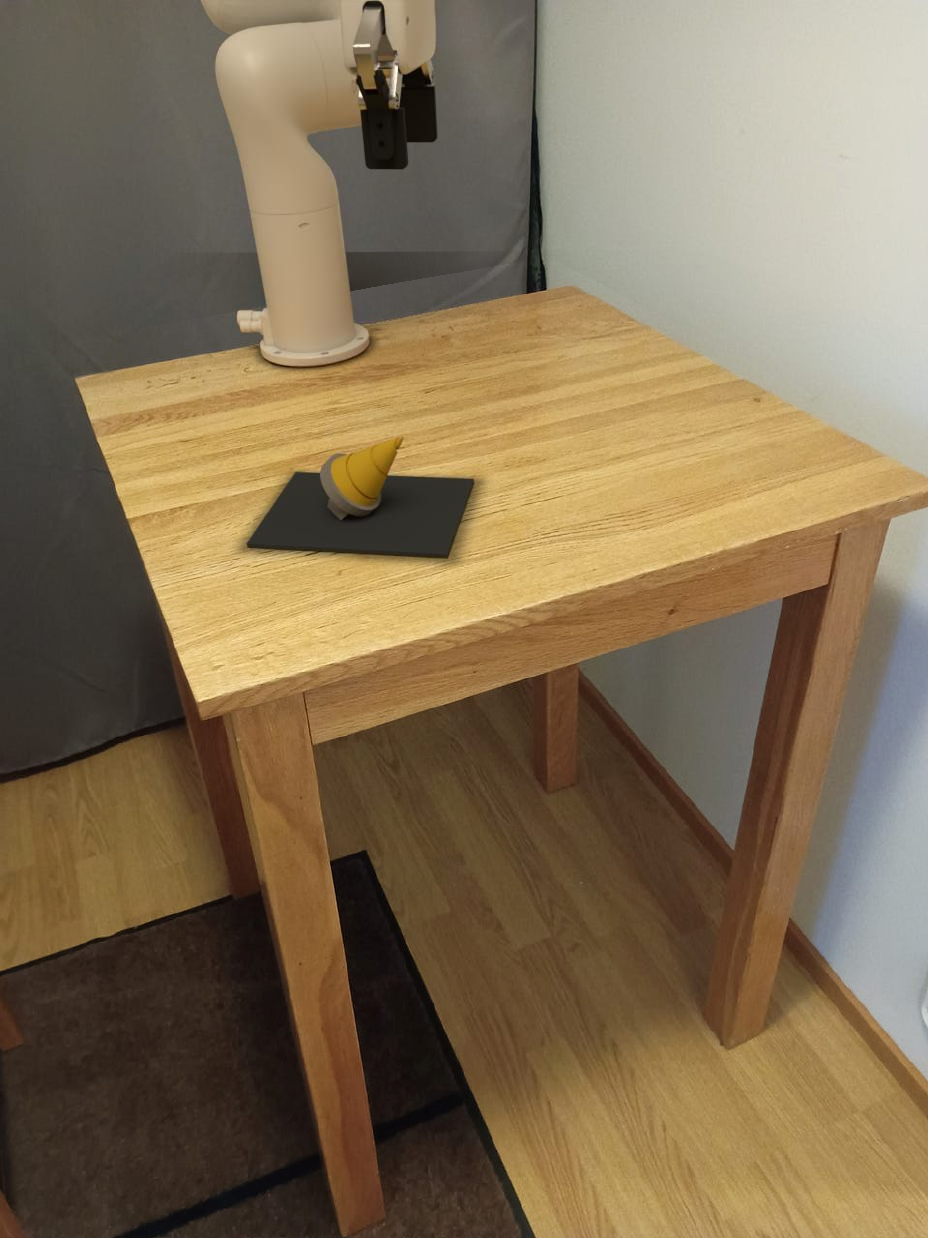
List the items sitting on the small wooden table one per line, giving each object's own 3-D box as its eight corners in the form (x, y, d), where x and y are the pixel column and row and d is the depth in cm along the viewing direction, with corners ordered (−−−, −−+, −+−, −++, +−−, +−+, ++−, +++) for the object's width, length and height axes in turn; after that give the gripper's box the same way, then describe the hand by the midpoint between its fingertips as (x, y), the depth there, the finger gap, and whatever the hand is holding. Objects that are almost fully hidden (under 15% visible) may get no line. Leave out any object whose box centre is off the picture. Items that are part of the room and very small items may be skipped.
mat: (247, 547, 72) (246, 543, 72) (296, 475, 82) (295, 471, 82) (447, 558, 70) (447, 553, 69) (474, 482, 79) (474, 478, 79)
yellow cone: (349, 490, 79) (424, 421, 73) (357, 541, 77) (435, 474, 71) (296, 470, 76) (370, 397, 70) (303, 524, 73) (381, 452, 67)
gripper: (366, -118, 70) (386, 132, 81) (287, -121, 57) (323, 180, 67) (463, -124, 69) (471, 132, 79) (405, -128, 56) (424, 180, 66)
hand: (403, 154), depth 73 cm, fingers open, 9 cm apart
